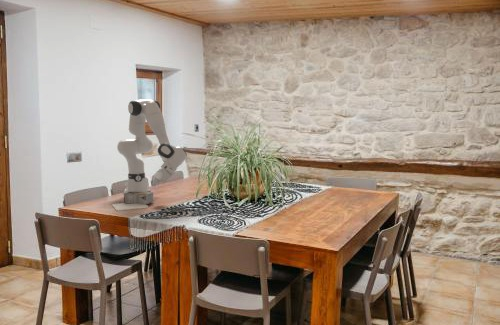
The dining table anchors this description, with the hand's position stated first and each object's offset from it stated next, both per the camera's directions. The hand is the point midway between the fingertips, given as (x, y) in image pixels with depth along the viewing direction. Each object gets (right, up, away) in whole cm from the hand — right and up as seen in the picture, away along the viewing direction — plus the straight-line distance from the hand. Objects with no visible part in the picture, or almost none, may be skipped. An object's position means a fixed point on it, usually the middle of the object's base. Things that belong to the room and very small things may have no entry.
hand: (153, 185), depth 297 cm
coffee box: (-2, -8, +1) cm, 8 cm away
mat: (-14, -13, -5) cm, 19 cm away
